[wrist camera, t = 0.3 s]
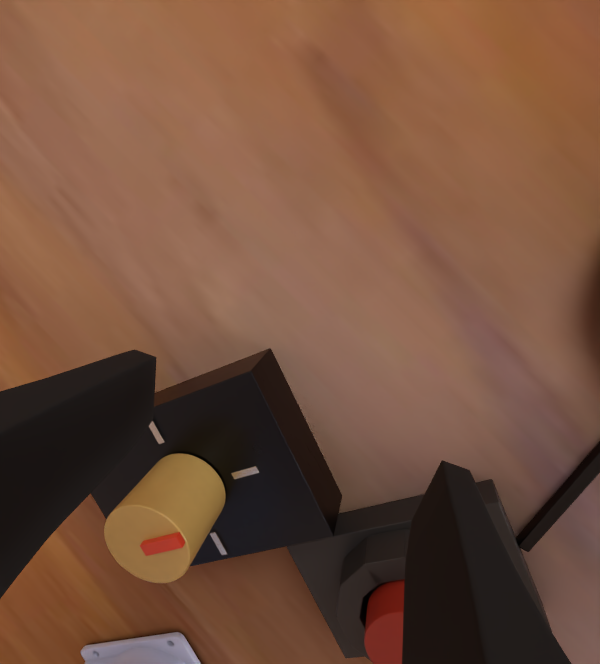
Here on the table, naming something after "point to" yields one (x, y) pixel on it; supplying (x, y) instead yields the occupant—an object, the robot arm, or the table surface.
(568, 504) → the table lamp
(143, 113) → the table surface
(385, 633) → the lamp switch
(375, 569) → the switch box
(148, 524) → the dimmer knob
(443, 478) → the robot arm
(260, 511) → the dimmer panel
